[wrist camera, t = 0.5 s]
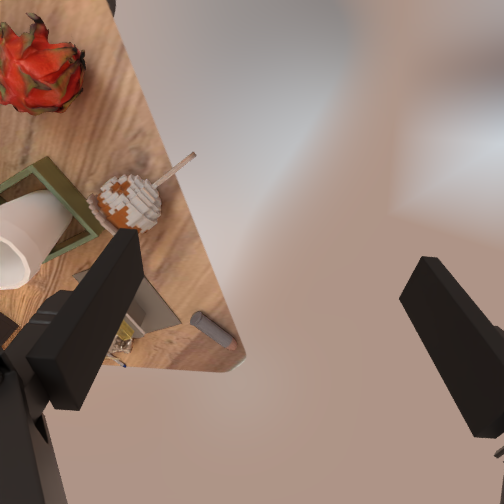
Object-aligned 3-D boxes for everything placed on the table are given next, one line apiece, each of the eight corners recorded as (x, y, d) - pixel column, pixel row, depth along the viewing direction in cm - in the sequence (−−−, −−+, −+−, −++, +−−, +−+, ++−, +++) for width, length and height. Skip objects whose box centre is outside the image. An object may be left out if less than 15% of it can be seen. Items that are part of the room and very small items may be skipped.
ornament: (123, 344, 66) (117, 361, 63) (95, 332, 61) (87, 349, 59) (146, 338, 62) (140, 356, 59) (118, 324, 58) (111, 342, 55)
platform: (132, 337, 62) (119, 365, 57) (72, 275, 53) (50, 301, 47) (181, 323, 59) (173, 351, 54) (127, 255, 50) (111, 281, 45)
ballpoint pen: (92, 338, 63) (89, 340, 64) (90, 342, 63) (87, 343, 63) (127, 365, 68) (124, 366, 69) (125, 368, 68) (122, 370, 68)
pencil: (192, 313, 58) (187, 326, 56) (202, 309, 57) (198, 322, 55) (230, 341, 63) (227, 354, 61) (240, 338, 62) (238, 351, 60)
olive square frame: (-10, 191, 44) (-29, 202, 41) (47, 156, 41) (31, 164, 38) (54, 251, 50) (41, 264, 47) (108, 224, 47) (98, 236, 44)
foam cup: (9, 175, 42) (-75, 219, 32) (75, 183, 43) (14, 229, 32) (29, 231, 48) (-37, 285, 37) (88, 238, 48) (39, 293, 38)
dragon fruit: (8, 74, 37) (102, 49, 36) (23, 140, 36) (117, 115, 36) (-69, 17, 28) (53, -16, 28) (-50, 103, 28) (73, 70, 27)
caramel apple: (89, 192, 41) (173, 125, 41) (131, 231, 46) (207, 170, 45) (78, 211, 35) (178, 131, 34) (128, 254, 39) (218, 183, 38)
